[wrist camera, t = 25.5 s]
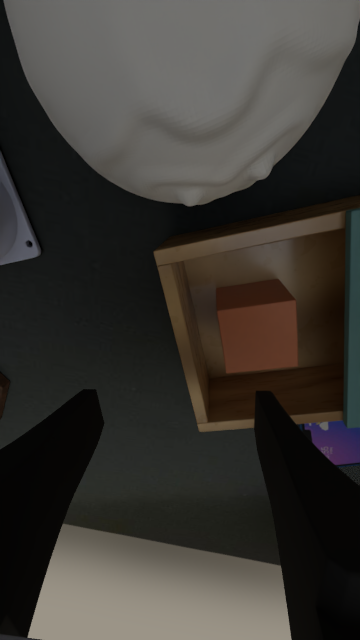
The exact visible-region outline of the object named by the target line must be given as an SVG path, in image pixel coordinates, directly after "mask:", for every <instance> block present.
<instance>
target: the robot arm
mask: <svg viewBox="0 0 360 640" xmlns="http://www.w3.org/2000/svg"><path fill="white" fill-rule="evenodd" d="M29 241H31V242H32V244H33V246H30V244H29ZM40 254H41V248H40V246H39V243H38V241H37V238H36V236H35V234H34V231H33V229H32V226H31V224H30V221H29V219H28V217H27V214H26V212H25V209H24V207H23V204H22V202H21V199H20V197H19V195H18V192H17V190H16V187H15V185H14V182H13V180H12V178H11V175H10V173H9V170H8V168H7V165H6V163H5V160H4V158H3V156H2V153H1V151H0V265H3V264H8V263H12V262H17V261H21V260H25V259H30V258H34V257H38V256H40ZM103 426H104V420H103V416H102V412H101V408H100V404H99V400H98V396H97V392H96V389H83V390H82V391H81V392H79V393H78V394H76V395H75V396H74V397H73V398H71V399H70V400H69V401H67V402H66V403H65V404H64V405H62V406H61V407H60V408H59V409H57V410H56V411H55V412H53V413H52V414H51V415H50V416H48V417H47V418H46V419H44V420H43V421H42V422H40V423H39V424H37V425H36V426H35V427H33V428H32V429H31V430H29V431H28V432H26V433H25V434H24V435H22V436H21V437H19V438H18V439H16V440H15V441H13V442H12V443H10V444H8V445H7V446H5V447H4V448H2V449H0V640H40V639H32V638H27V637H28V632H29V629H30V626H31V622H32V619H33V615H34V612H35V608H36V605H37V601H38V598H39V594H40V591H41V588H42V584H43V581H44V578H45V575H46V572H47V568H48V565H49V562H50V559H51V556H52V553H53V550H54V547H55V544H56V541H57V538H58V535H59V532H60V529H61V527H62V524H63V521H64V519H65V516H66V513H67V510H68V508H69V505H70V503H71V500H72V498H73V496H74V493H75V491H76V489H77V487H78V485H79V483H80V481H81V479H82V477H83V474H84V472H85V470H86V468H87V466H88V464H89V462H90V460H91V458H92V455H93V453H94V451H95V449H96V447H97V444H98V441H99V438H100V436H101V432H102V429H103ZM254 430H255V437H256V445H257V451H258V455H259V459H260V463H261V467H262V471H263V475H264V479H265V483H266V487H267V491H268V495H269V499H270V503H271V508H272V513H273V517H274V523H275V530H276V536H277V542H278V548H279V555H280V562H281V568H282V575H283V581H284V588H285V595H286V602H287V609H288V616H289V623H290V631H291V638H292V640H360V486H359V485H358V484H356V483H355V482H354V481H353V480H351V479H350V478H349V477H348V476H347V475H346V474H344V473H343V472H342V471H341V470H340V469H339V468H338V467H337V466H336V465H335V464H333V463H332V462H331V461H330V460H329V459H328V458H327V457H326V456H325V455H324V454H323V453H322V452H321V451H320V450H319V449H318V448H317V447H316V446H315V445H314V444H313V443H312V441H311V440H310V439H309V438H308V437H307V436H306V435H305V434H304V433H303V431H302V430H301V429H300V428H299V427H298V426H297V424H296V423H295V422H294V421H293V420H292V418H291V417H290V416H289V415H288V413H287V412H286V411H285V409H284V408H283V407H282V405H281V404H280V403H279V401H278V400H277V398H276V397H275V395H274V394H273V393H272V392H271V391H256V394H255V418H254Z"/></svg>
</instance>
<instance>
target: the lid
mask: <svg viewBox="0 0 360 640" xmlns="http://www.w3.org/2000/svg"><path fill="white" fill-rule="evenodd" d="M343 422H344V424H345V426H346V427H347V428H360V208H356V209H351V210H347V211H346V237H345V314H344V392H343Z"/></svg>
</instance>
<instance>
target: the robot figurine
mask: <svg viewBox="0 0 360 640" xmlns="http://www.w3.org/2000/svg"><path fill="white" fill-rule="evenodd" d="M9 383H10V381H9V380H8V379H7V378H5V377H4V376H3V375H2V374H1V373H0V419H1V417H2V413H3V409H4V404H5V400H6V396H7V392H8V388H9Z"/></svg>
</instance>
